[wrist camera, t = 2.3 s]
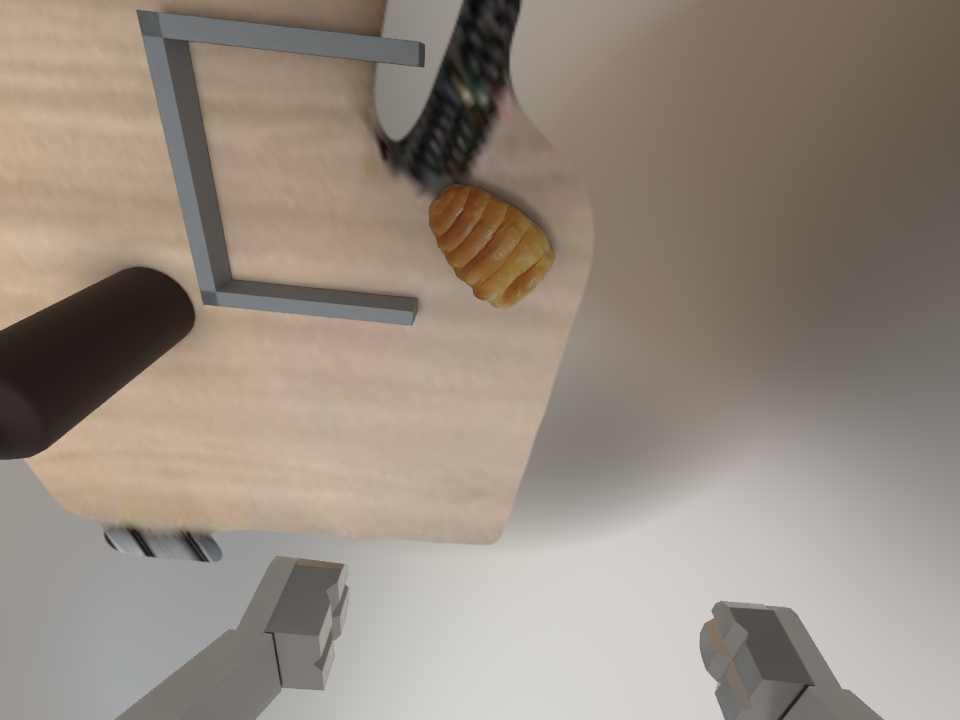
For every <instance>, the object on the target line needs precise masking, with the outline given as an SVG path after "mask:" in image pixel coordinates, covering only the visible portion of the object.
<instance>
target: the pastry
mask: <svg viewBox="0 0 960 720" xmlns="http://www.w3.org/2000/svg"><path fill="white" fill-rule="evenodd" d="M429 219H430V220H429V226H430V228H431V230H432V231H433V233H434V235H435V237H436V239H437V244H438V247H439V248H440V249H441V251H442V252H443V254H444V255H445V256H446V259H447V261H448V263H449V264H450V265H451V266H452V267H453V269H454V271H455V273H456V276H457V277H458V278H459V279H461V280H462V281H464V282H466V283H467V284H468V285H469V286H471V287H472V288H473V293H474V295H475V296H476V297H477V298H478V299H481V300H486V301H488V302H490V303H491V305H492V306H493V307H496V308H506V307H510V306H513V305H514V304H516V303H517V302H518V301H520V300H521V299H523V298H524V297H525V296H526V295H528V294H529V293H530V292H532V291H533V289H534V288H535V287H536V285H537V284H538V282H540V281H541V280H542V279H543V278H544V276H545V275H546V274H547V272H548V271H549V270H550V268H551V266H552V264H553V262H554V259H555V254H554V251H553V250H552V248H551V246H550V244H549V242H548V240H547V237H546V234H545V232H544V231H543V230H542V228H541V227H539V226H538V225H536V224H535V223H534V222H533V221H531V220H530V219H529V218H527V217H526V216H525V215H524V214H523V213H522V212H521V211H519V210H518V209H516V208H515V207H513V206H511V205H509V204H507V203H505V202H504V201H502V200H500V199H498V198H497V197H495V196H493V195H491V194H490V193H488V192H486V191H484V190H482V189H480V188H478V187H475V186H468V185H463V184H453V185H449V186H447V187H446V188H445V189H444V190H443V191H442V192H441V193H440V194H439V196H438V197H437V198H436V199H435V200H434V201H433V202H432V203H431V205H430V207H429Z"/></svg>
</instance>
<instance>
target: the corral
mask: <svg viewBox="0 0 960 720" xmlns="http://www.w3.org/2000/svg"><path fill="white" fill-rule="evenodd" d="M136 11H137V15H138V20H139V24H140V28H141V33H142V37H143V42H144V46H145V50H146V55H147V59H148V64H149V68H150V72H151V77H152V81H153V86H154V90H155V94H156V99H157V103H158V108H159V112H160V116H161V121H162V125H163V130H164V134H165V138H166V143H167V147H168V151H169V156H170V160H171V165H172V169H173V173H174V178H175V182H176V187H177V191H178V195H179V200H180V204H181V209H182V213H183V217H184V222H185V226H186V231H187V235H188V239H189V244H190V248H191V253H192V257H193V261H194V266H195V270H196V275H197V279H198V283H199V288H200V292H201V297H202V301H203V305H213V306H223V307H233V308H243V309H252V310H262V311H272V312H282V313H292V314H302V315H312V316H321V317H331V318H341V319H351V320H361V321H371V322H381V323H391V324H400V325H410V326H412V325H413V322H414V320H415V317H416V314H417V301H418V299H415V298H405V297H395V296H386V295H376V294H366V293H356V292H347V291H337V290H327V289H317V288H308V287H298V286H288V285H278V284H268V283H259V282H249V281H239V280H232V277H231V271H230V266H229V261H228V255H227V250H226V245H225V239H224V234H223V229H222V223H221V218H220V213H219V207H218V202H217V197H216V191H215V186H214V181H213V175H212V170H211V165H210V159H209V154H208V149H207V143H206V138H205V133H204V127H203V122H202V117H201V111H200V106H199V101H198V95H197V90H196V85H195V79H194V74H193V69H192V63H191V58H190V53H189V47H188V42H187V41H192V42H201V43H210V44H219V45H228V46H237V47H246V48H255V49H264V50H273V51H282V52H291V53H300V54H309V55H318V56H327V57H336V58H345V59H354V60H363V61H372V62H381V63H390V64H399V65H409V66H418V67H424V59H425V45H424V44H422V43H421V42H417V41H408V40H399V39H390V38H381V37H373V36H364V35H355V34H346V33H337V32H328V31H319V30H310V29H301V28H293V27H284V26H275V25H266V24H257V23H248V22H239V21H230V20H221V19H212V18H204V17H195V16H186V15H177V14H168V13H159V12H150V11H141V10H136Z"/></svg>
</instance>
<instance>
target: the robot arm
mask: <svg viewBox="0 0 960 720" xmlns="http://www.w3.org/2000/svg"><path fill="white" fill-rule="evenodd" d="M347 576H348V567H347V564H341V563H333V562H325V561H317V560H307V559H301V558H292V557H282V556H276V557H275V559H274V560H273V561H272V562H271V563H270V565H269V567H268V569H267V571H266V573H265V575H264V577H263V578H262V581H261V582H260V584H259V586H258V588H257V590H256V592H255V594H254V596H253V598H252V600H251V602H250V604H249V606H248V608H247V610H246V612H245V614H244V616H243V618H242V620H241V622H240V624H239V626H238V628H237V630H231V629H229V630H228V631H226V632H225V633H224V634H223V635H221V636H220V637H219V638H218V639H216V640H215V641H214V642H212V643H211V644H210V645H209V646H207V647H206V648H205V649H204V650H202V651H201V652H200V653H198V654H197V655H196V656H195V657H193V658H192V659H191V660H190V661H188V662H187V663H186V664H184V665H183V666H182V667H181V668H179V669H178V670H177V671H176V672H174V673H173V674H172V675H170V676H169V677H168V678H167V679H165V680H164V681H163V682H162V683H161V684H159V685H158V686H157V687H155V688H154V689H153V690H151V691H150V692H149V693H148V694H146V695H145V696H144V697H143V698H141V699H140V700H139V701H138V702H136V703H135V704H134V705H132V706H131V707H130V708H129V709H127V710H126V711H125V712H124V713H122V714H121V715H120V716H118V718H116V719H115V720H255V719H256V718H257V717H258V716H259V715H260V714H261V713H262V712H263V710H264V709H265V708H266V707H267V706H268V705H269V704H270V703H271V702H272V700H273V699H274V698H275V697H276V696H277V695H278V694H279V693H280V692H281V688H295V689H312V690H324V688H325V685H326V682H327V679H328V675H329V672H330V669H331V666H332V662H333V659H334V640H336V639H337V638H338V637H339V636H340V635H341V632H342V629H343V625H344V622H345V618H346V612H347V608H348V598H349V588H348V587H347V586H346V585H345V582H346V579H347ZM712 613H713V615H714V619H712V620H710V621H708V622H706V623H705V624H704V626H703V628H702V630H701V632H700V650H701V656H702V659H703V662H704V665H705V668H706V670H707V671H708V672H709V673H710V675H711V676H712V677H713V678H714V679H715V680H716V681H717V682H718V683H717V687H716V691H715V695H716V697H717V700H718V703H719V705H720V708H721V710H722V713H723V716H724V718H725V720H884V719H882V718H881V717H880V716H879V715H878V714H877V713H875V712H874V711H873V710H872V709H871V708H870V707H868V706H867V705H866V704H865V703H864V702H863V701H861V700H860V699H859V698H858V697H857V696H856V695H855V694H853V693H852V692H851V691H850V690H846V689H842V688H841V686H840V685H839V683H838V682H837V680H836V678H835V676H834V675H833V673H832V671H831V670H830V668H829V666H828V665H827V663H826V661H825V660H824V658H823V656H822V655H821V653H820V652H819V650H818V648H817V647H816V645H815V644H814V642H813V640H812V638H811V637H810V635H809V634H808V632H807V630H806V629H805V627H804V625H803V623H802V622H801V620H800V618H799V617H798V615H797V614H796V613H795V612H794V611H793V610H792V609H791V608H786V607H777V606H765V605H763V604H750V603H739V602H727V601H720V602H718V603H716V604H715V606H714V607H713V609H712Z"/></svg>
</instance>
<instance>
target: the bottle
mask: <svg viewBox="0 0 960 720" xmlns="http://www.w3.org/2000/svg"><path fill="white" fill-rule="evenodd" d="M193 319H194V316H193V310H192V306H191V304H190V302H189V300H188V298H187V296H186V295H185V293H184V292H183V291H182V290H181V289H180V288H179V287H178V285H177V284H175V283H174V282H173V281H171V280H170V279H169V278H167V277H166V276H164V275H162V274H160V273H157V272H155V271H153V270H149V269H143V268H131V269H125V270H122V271H120V272H118V273H116V274H114V275H112V276H110V277H108V278H106V279H104V280H102V281H100V282H98V283H96V284H94V285H92V286H89V287H87V288H85V289H83V290H81V291H79V292H77V293H75V294H73V295H71V296H69V297H67V298H65V299H63V300H61V301H59V302H57V303H55V304H53V305H51V306H49V307H47V308H45V309H43V310H41V311H39V312H37V313H35V314H33V315H31V316H29V317H27V318H25V319H23V320H21V321H19V322H17V323H15V324H13V325H11V326H9V327H7V328H5V329H3V330H1V331H0V460H3V459H4V460H9V459H19V458H28V457H31V456H34V455H36V454H38V453H40V452H42V451H44V450H46V449H47V448H48V447H50V446H51V445H52V444H53V443H55V442H56V441H57V440H58V439H60V438H61V437H62V436H63V435H65V434H66V433H67V432H68V431H69V430H71V429H72V428H73V427H74V426H76V425H77V424H78V423H79V422H81V421H82V420H83V419H84V418H86V417H87V416H88V415H89V414H90V413H92V412H93V411H94V410H95V409H97V408H98V407H99V406H100V405H102V404H103V403H104V402H105V401H107V400H108V399H109V398H110V397H111V396H113V395H114V394H115V393H116V392H118V391H119V390H120V389H121V388H123V387H124V386H125V385H126V384H128V383H129V382H130V381H131V380H133V379H134V378H135V377H136V376H137V375H139V374H140V373H141V372H142V371H144V370H145V369H146V368H147V367H149V366H150V365H151V364H152V363H154V362H155V361H156V360H157V359H158V358H160V357H161V356H162V355H163V354H165V353H166V352H167V351H168V350H170V349H171V348H172V347H173V346H175V345H176V344H177V343H178V342H180V341H181V340H182V339H183V338H184V337H185V336H186V335H187V334H188V332H189V331H190V330H191V328H192V324H193Z"/></svg>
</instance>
